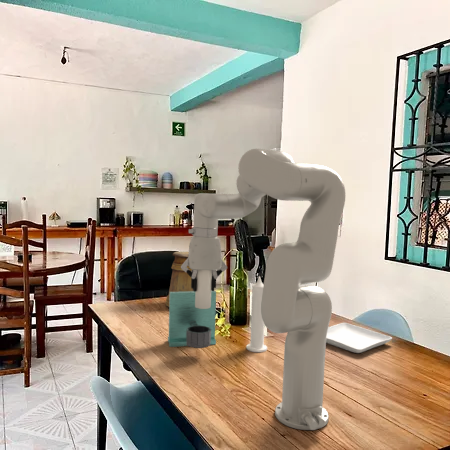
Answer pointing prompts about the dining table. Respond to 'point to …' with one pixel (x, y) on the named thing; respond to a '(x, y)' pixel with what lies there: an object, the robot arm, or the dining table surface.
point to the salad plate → (354, 337)
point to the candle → (257, 320)
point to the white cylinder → (203, 289)
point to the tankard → (179, 275)
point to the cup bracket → (191, 321)
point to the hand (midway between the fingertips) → (203, 289)
